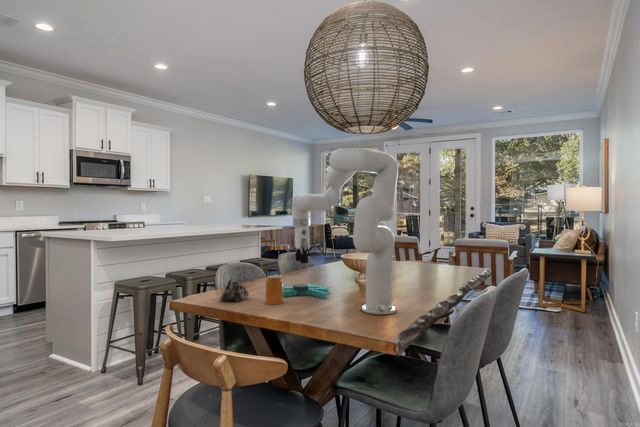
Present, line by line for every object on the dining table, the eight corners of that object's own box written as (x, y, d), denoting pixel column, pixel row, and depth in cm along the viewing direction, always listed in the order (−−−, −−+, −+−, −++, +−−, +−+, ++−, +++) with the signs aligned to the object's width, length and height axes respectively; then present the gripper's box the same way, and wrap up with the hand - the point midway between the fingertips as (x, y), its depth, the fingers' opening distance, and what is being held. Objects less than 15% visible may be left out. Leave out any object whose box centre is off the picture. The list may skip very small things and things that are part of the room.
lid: (292, 290, 178) (292, 286, 178) (293, 287, 185) (293, 283, 185) (308, 290, 178) (308, 286, 178) (308, 287, 185) (308, 283, 185)
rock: (239, 308, 161) (252, 285, 166) (218, 296, 161) (231, 274, 166) (238, 313, 173) (250, 292, 177) (218, 302, 173) (230, 282, 177)
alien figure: (326, 298, 173) (329, 289, 193) (326, 293, 173) (330, 284, 193) (279, 297, 175) (287, 288, 195) (279, 291, 175) (288, 283, 195)
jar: (284, 303, 163) (284, 277, 163) (267, 304, 161) (267, 278, 161) (280, 300, 169) (280, 275, 169) (264, 301, 167) (264, 275, 167)
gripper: (314, 223, 173) (314, 263, 173) (305, 222, 190) (305, 259, 190) (297, 223, 171) (297, 264, 171) (289, 223, 188) (289, 260, 188)
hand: (301, 261), depth 181 cm, fingers open, 9 cm apart
